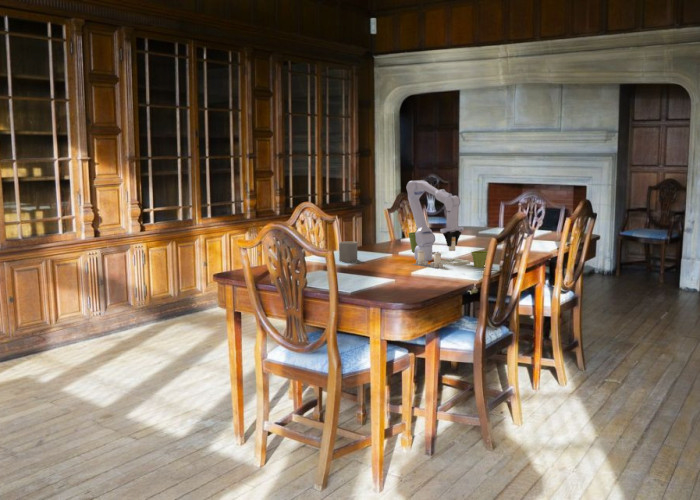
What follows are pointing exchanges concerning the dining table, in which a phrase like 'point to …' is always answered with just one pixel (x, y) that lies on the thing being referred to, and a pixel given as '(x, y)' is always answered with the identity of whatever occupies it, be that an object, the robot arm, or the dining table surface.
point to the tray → (459, 261)
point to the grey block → (347, 251)
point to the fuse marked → (452, 244)
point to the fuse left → (421, 256)
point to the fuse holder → (431, 265)
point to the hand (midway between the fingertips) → (452, 245)
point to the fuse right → (437, 260)
